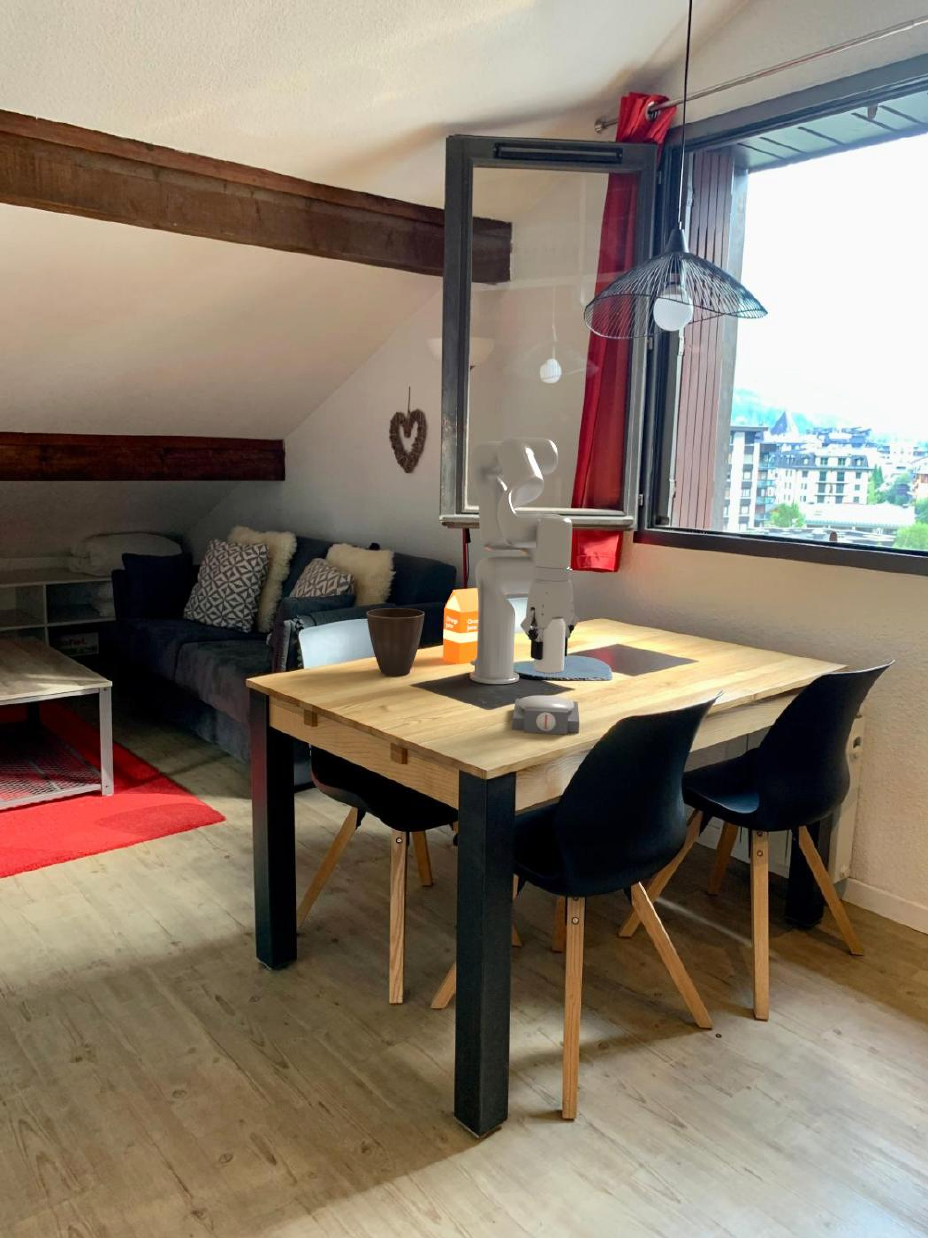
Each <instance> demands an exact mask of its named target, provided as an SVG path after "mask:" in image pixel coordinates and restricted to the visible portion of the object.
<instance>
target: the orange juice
mask: <svg viewBox="0 0 928 1238" xmlns="http://www.w3.org/2000/svg"><path fill="white" fill-rule="evenodd" d="M443 610H444V611H443V612H444V613H443V636H442V637H443V639H442V640H443V642H442V644H443V646H442V649H443V650H442V659H443V660H444V659H445V660H444V661H447V660H448V661H447V662H450V661H451V662H450V663H454V664H456V665H464V664H470V662H471V660H475V658H476V657H477V629H478V592H477V587H474V588H462V589H453V590H452V593H451V594H450V596H449V598H448V600H447V602H446V603H445V607H444V609H443Z"/></svg>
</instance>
